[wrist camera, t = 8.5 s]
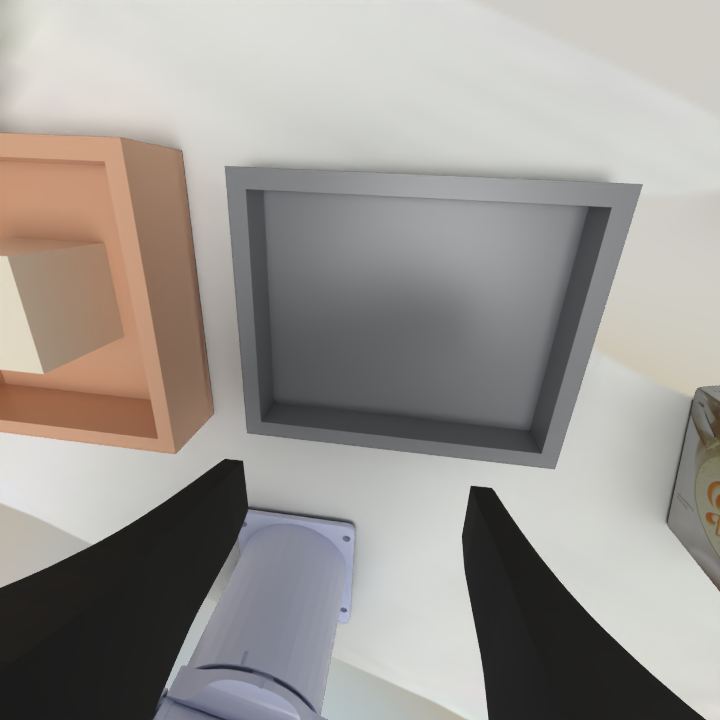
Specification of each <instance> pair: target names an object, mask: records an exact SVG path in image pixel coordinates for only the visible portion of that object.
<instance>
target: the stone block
mask: <svg viewBox="0 0 720 720" xmlns="http://www.w3.org/2000/svg"><path fill="white" fill-rule="evenodd" d="M123 337H124V333H123V328H122V323H121V318H120V314H119V309H118V304H117V299H116V295H115V290H114V285H113V280H112V276H111V271H110V266H109V261H108V257H107V252H106V247H105V243H95V242H80V241H65V240H50V239H35V238H20V237H13V238H2V239H0V370H9V371H18V372H27V373H37V374H46V373H48V372H50V371H52V370H54V369H56V368H58V367H61V366H63V365H65V364H67V363H69V362H71V361H73V360H76V359H78V358H80V357H82V356H84V355H86V354H88V353H91V352H93V351H95V350H97V349H99V348H101V347H103V346H105V345H108V344H110V343H112V342H114V341H116V340H118V339H120V338H123Z"/></svg>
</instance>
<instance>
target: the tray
mask: <svg viewBox="0 0 720 720" xmlns="http://www.w3.org/2000/svg"><path fill="white" fill-rule="evenodd" d="M225 174H226V186H227V198H228V210H229V222H230V234H231V246H232V258H233V270H234V282H235V294H236V306H237V318H238V330H239V342H240V354H241V366H242V378H243V390H244V402H245V414H246V426H247V433H250V434H259V435H267V436H276V437H284V438H293V439H301V440H310V441H318V442H327V443H335V444H344V445H352V446H361V447H369V448H378V449H386V450H395V451H403V452H412V453H420V454H429V455H437V456H446V457H454V458H463V459H471V460H480V461H488V462H497V463H505V464H514V465H522V466H531V467H539V468H548V469H555V468H556V464H557V461H558V458H559V455H560V451H561V448H562V445H563V442H564V438H565V435H566V432H567V429H568V425H569V422H570V419H571V416H572V412H573V409H574V406H575V403H576V399H577V396H578V393H579V390H580V386H581V383H582V380H583V377H584V373H585V370H586V367H587V364H588V360H589V357H590V354H591V351H592V347H593V344H594V341H595V337H596V334H597V331H598V328H599V325H600V322H601V318H602V315H603V312H604V309H605V305H606V302H607V299H608V296H609V292H610V289H611V286H612V282H613V279H614V276H615V272H616V269H617V266H618V263H619V260H620V257H621V253H622V250H623V247H624V244H625V240H626V237H627V234H628V231H629V227H630V224H631V221H632V218H633V214H634V211H635V208H636V204H637V201H638V198H639V195H640V192H641V188H642V185H643V184H626V183H602V182H579V181H556V180H533V179H510V178H487V177H464V176H441V175H418V174H395V173H372V172H349V171H326V170H303V169H279V168H256V167H233V166H225Z"/></svg>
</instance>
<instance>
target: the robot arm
mask: <svg viewBox="0 0 720 720" xmlns="http://www.w3.org/2000/svg"><path fill="white" fill-rule="evenodd" d="M346 536H349V537H346ZM237 538H238V541H239V551H240V559H239V561H238V563H237V565H236V567H235V569H234V571H233V573H232V575H231V577H230V579H229V581H228V583H227V585H226V587H225V589H224V591H223V593H222V595H221V597H220V599H219V602H218V604H217V606H216V608H215V610H214V612H213V614H212V616H211V618H210V620H209V622H208V624H207V626H206V628H205V630H204V632H203V634H202V636H201V638H200V641H199V643H198V645H197V647H196V649H195V651H194V653H193V655H192V657H191V659H190V661H189V663H188V665H187V666H181V668H180V670H179V672H178V674H177V676H176V678H175V680H174V682H173V684H172V686H171V688H170V690H169V692H168V689H167V688H164V687H165V685H166V682H167V680H168V677H169V675H170V673H171V670H172V668H173V666H174V663H175V661H176V659H177V656H178V654H179V651H180V649H181V647H182V645H183V643H184V640H185V638H186V636H187V633H188V631H189V629H190V627H191V624H192V623H193V621H194V618H195V616H196V614H197V612H198V610H199V609H200V607H201V605H202V603H203V601H204V599H205V598H206V596H207V594H208V592H209V590H210V588H211V587H212V585H213V583H214V581H215V579H216V577H217V576H218V574H219V572H220V570H221V568H222V567H223V565H224V563H225V561H226V559H227V557H228V555H229V553H230V552H231V550H232V548H233V546H234V544H235V542H236V540H237ZM354 543H355V527H354V526H353V525H352V524H349V523H344V522H337V521H329V520H322V519H315V518H308V517H301V516H293V515H286V514H279V513H272V512H265V511H257V510H250V509H248V501H247V492H246V483H245V475H244V466H243V461H239V460H230V459H224V460H223V461H221V462H220V463H218V464H217V465H216V466H214V467H213V468H211V469H210V470H209V471H207V472H206V473H205V474H203V475H202V476H200V477H199V478H198V479H196V480H195V481H194V482H192V483H191V484H189V485H188V486H187V487H185V488H184V489H182V490H181V491H179V492H178V493H177V494H175V495H174V496H172V497H171V498H170V499H168V500H167V501H165V502H164V503H162V504H161V505H159V506H157V507H156V508H154V509H153V510H151V511H150V512H148V513H147V514H145V515H144V516H142V517H141V518H139V519H138V520H136V521H134V522H133V523H131V524H130V525H128V526H126V527H124V528H123V529H121V530H119V531H118V532H116V533H114V534H112V535H111V536H109V537H107V538H105V539H103V540H102V541H100V542H98V543H96V544H94V545H92V546H90V547H89V548H87V549H85V550H82V551H80V552H78V553H77V554H75V555H72V556H70V557H68V558H66V559H64V560H62V561H60V562H58V563H56V564H54V565H52V566H50V567H48V568H46V569H43V570H41V571H39V572H37V573H34V574H32V575H30V576H28V577H25V578H23V579H21V580H18V581H16V582H14V583H11V584H9V585H6V586H4V587H2V588H0V720H328V719H326V718H324V717H321V716H320V715H321V710H322V704H323V699H324V694H325V687H326V683H327V676H328V671H329V665H330V660H331V655H332V649H333V644H334V638H335V633H336V627H337V622H340V623H347V622H349V620H350V615H351V597H352V579H353V561H354ZM462 543H463V557H464V568H465V575H466V580H467V586H468V591H469V596H470V602H471V607H472V612H473V617H474V622H475V628H476V633H477V638H478V643H479V648H480V653H481V660H482V666H483V673H484V681H485V690H486V700H487V709H488V718H489V720H706V719H704V718H703V717H702V716H701V715H699V714H698V713H697V712H696V711H694V710H693V709H692V708H691V707H689V706H688V705H687V704H686V703H685V702H683V701H682V700H681V699H680V698H679V697H678V696H677V695H675V694H674V693H673V692H672V691H671V690H670V689H668V688H667V687H666V686H665V685H664V684H663V683H661V682H660V681H659V680H658V679H657V678H656V677H654V676H653V675H652V674H651V673H650V672H649V671H648V670H647V669H646V668H644V667H643V666H642V665H641V664H640V663H639V662H638V661H637V660H636V659H635V658H634V657H633V656H632V655H630V654H629V653H628V652H627V651H626V650H625V649H624V648H623V647H622V646H621V645H620V644H619V643H618V642H617V641H616V640H615V639H614V638H613V637H612V636H611V635H609V634H608V633H607V632H606V631H605V630H604V629H603V628H602V627H601V626H600V625H599V624H598V623H597V622H596V621H595V620H594V619H593V618H592V617H591V615H590V614H589V613H588V612H587V611H586V610H585V609H584V608H583V607H582V606H581V605H580V604H579V602H578V601H577V600H576V599H575V598H574V597H573V596H572V595H571V594H570V592H569V591H568V590H567V589H566V588H565V587H564V585H563V584H562V583H561V582H560V581H559V580H558V578H557V577H556V576H555V575H554V573H553V572H552V571H551V570H550V569H549V567H548V566H547V565H546V564H545V562H544V561H543V560H542V559H541V557H540V556H539V555H538V553H537V552H536V551H535V549H534V548H533V547H532V545H531V544H530V543H529V541H528V540H527V539H526V537H525V536H524V534H523V533H522V532H521V530H520V529H519V527H518V526H517V525H516V523H515V522H514V520H513V519H512V517H511V516H510V514H509V513H508V511H507V510H506V508H505V507H504V505H503V504H502V502H501V501H500V499H499V497H498V496H497V494H496V493H495V491H494V490H493V489H492V488H487V487H477V486H471V488H470V494H469V499H468V505H467V511H466V516H465V522H464V527H463V533H462ZM167 693H168V694H167Z"/></svg>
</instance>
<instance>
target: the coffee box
mask: <svg viewBox="0 0 720 720" xmlns="http://www.w3.org/2000/svg"><path fill="white" fill-rule="evenodd" d="M668 527H669V529H670V530H671V531H672V532H673V533H674V534H675V536H676V537H677V538H678V540H679V541H680V542H681V543H682V545H683V546H684V547H685V548H686V550H687V551H688V552H689V553H690V555H691V556H692V557H693V558H694V560H695V561H696V562H697V563H698V565H699V566H700V567H701V568H702V570H703V571H704V573H705V574H706V575H707V576H708V577H709V578H710V580H711V581H712V582H713V584H714V585H715V586H716V587H717V589H718V590H719V591H720V386H708V387H700V388H698V389H697V390H696V392H695V396H694V400H693V405H692V410H691V415H690V419H689V424H688V429H687V433H686V438H685V443H684V447H683V452H682V457H681V462H680V466H679V471H678V476H677V480H676V485H675V490H674V495H673V500H672V505H671V510H670V514H669V519H668Z"/></svg>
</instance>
